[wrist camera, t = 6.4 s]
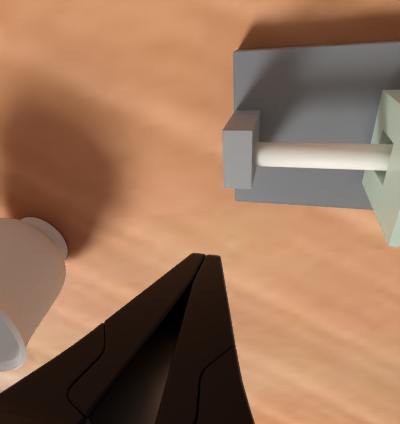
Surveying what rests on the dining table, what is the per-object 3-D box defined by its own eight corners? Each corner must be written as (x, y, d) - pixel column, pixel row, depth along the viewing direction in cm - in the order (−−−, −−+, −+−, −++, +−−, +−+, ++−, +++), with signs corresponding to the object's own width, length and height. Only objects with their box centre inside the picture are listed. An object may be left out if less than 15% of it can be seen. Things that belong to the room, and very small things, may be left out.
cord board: (572, 29, 14) (775, 36, 8) (489, 204, 18) (578, 289, 13) (237, 49, 17) (209, 64, 12) (238, 190, 22) (218, 250, 16)
